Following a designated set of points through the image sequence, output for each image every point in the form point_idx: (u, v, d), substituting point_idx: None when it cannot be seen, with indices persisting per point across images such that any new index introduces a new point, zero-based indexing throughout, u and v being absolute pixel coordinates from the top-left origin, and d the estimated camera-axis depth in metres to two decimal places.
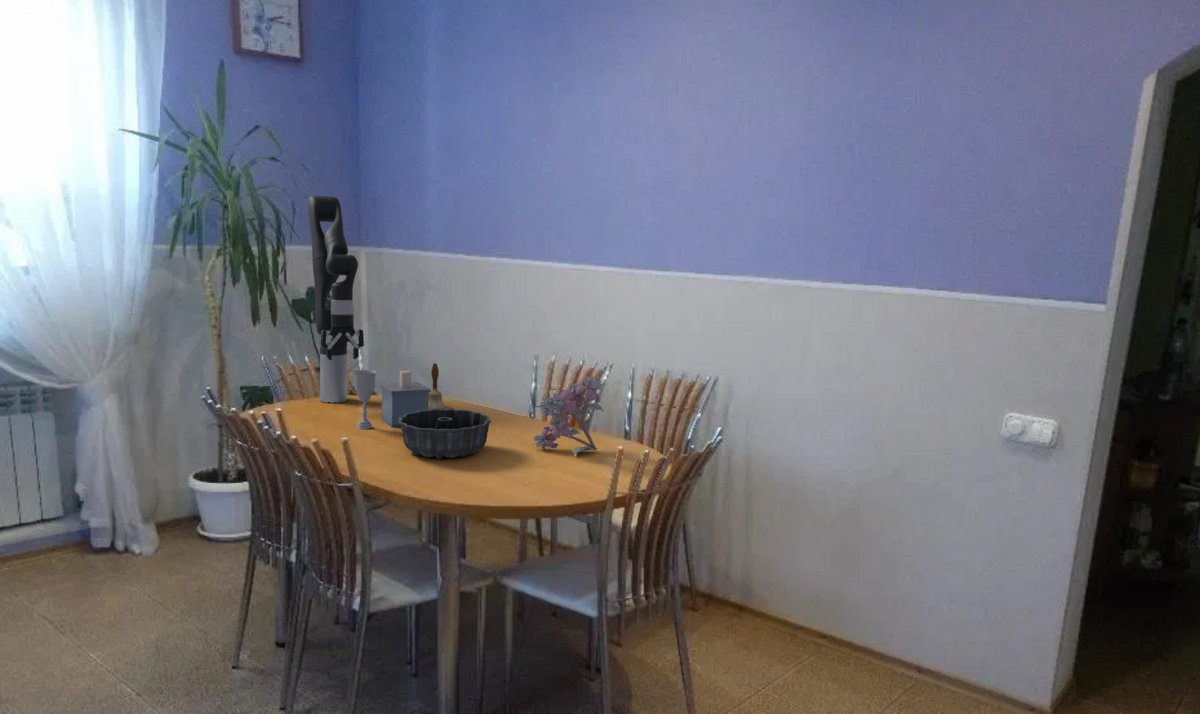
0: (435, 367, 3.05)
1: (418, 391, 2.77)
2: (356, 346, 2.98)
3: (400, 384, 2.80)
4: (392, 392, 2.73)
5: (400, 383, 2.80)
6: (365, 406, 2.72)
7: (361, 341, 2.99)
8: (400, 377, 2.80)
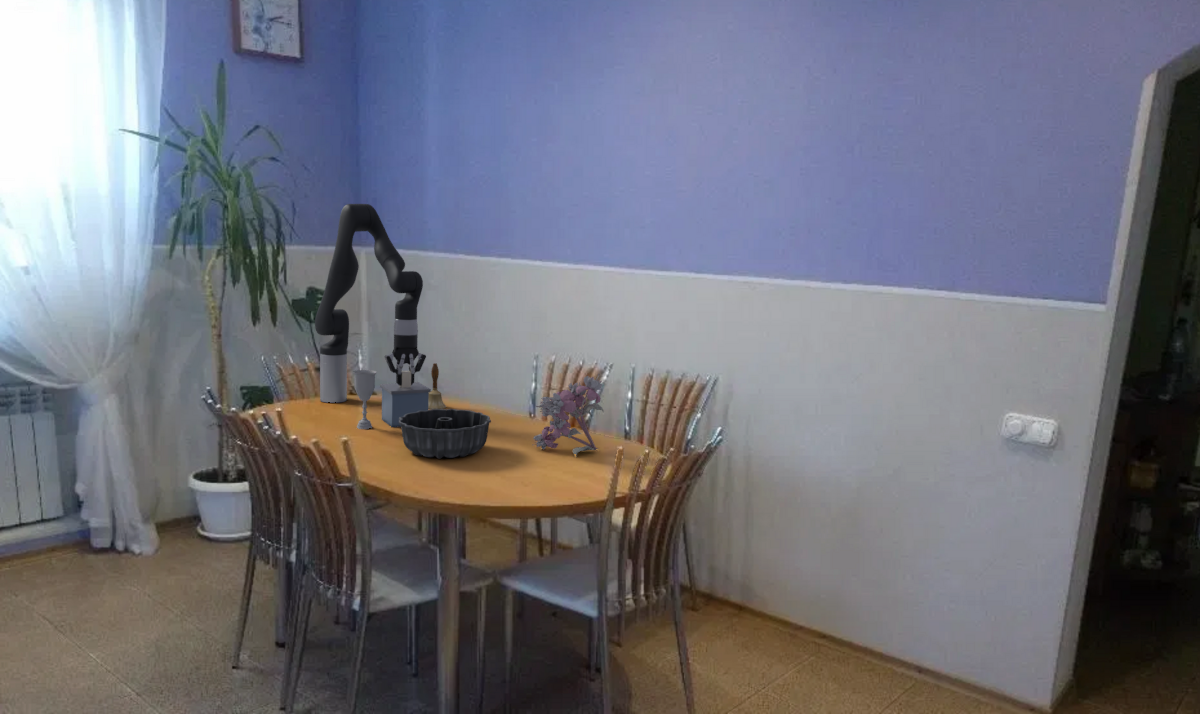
0: (435, 367, 3.05)
1: (418, 391, 2.77)
2: (412, 371, 2.80)
3: None
4: (392, 392, 2.73)
5: None
6: (365, 406, 2.72)
7: (419, 366, 2.81)
8: None
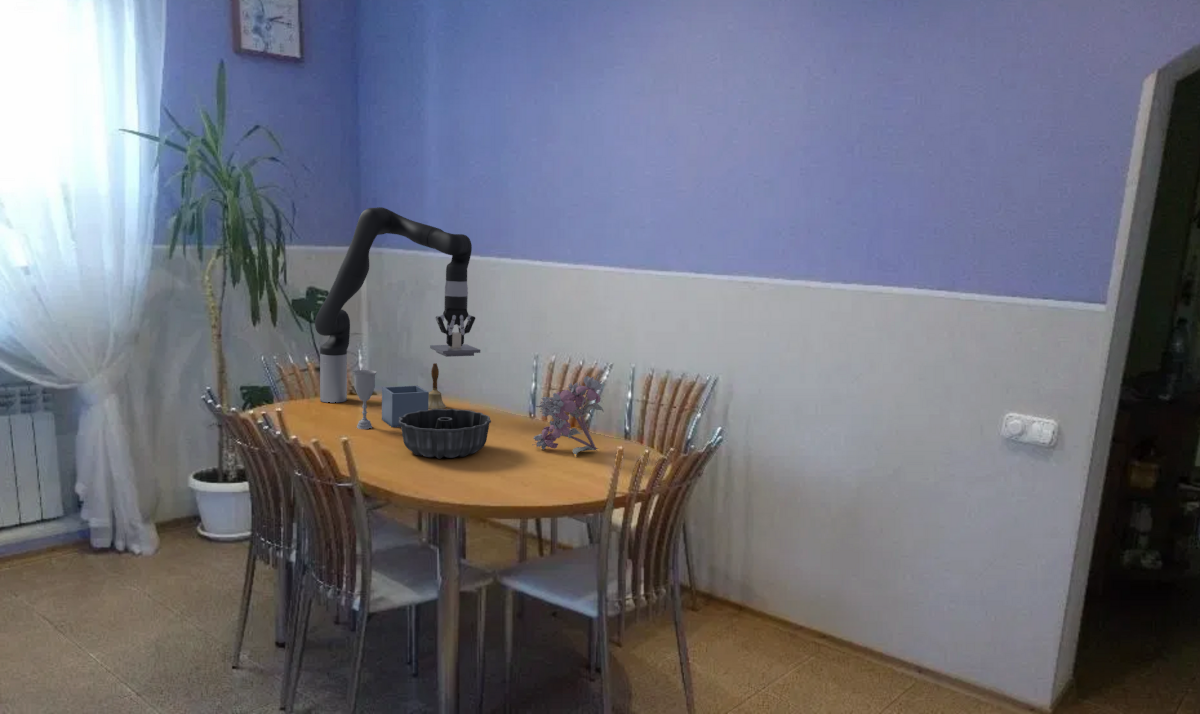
0: (435, 367, 3.05)
1: (468, 351, 2.83)
2: (462, 332, 2.87)
3: None
4: (444, 352, 2.79)
5: None
6: (365, 406, 2.72)
7: (469, 327, 2.88)
8: None
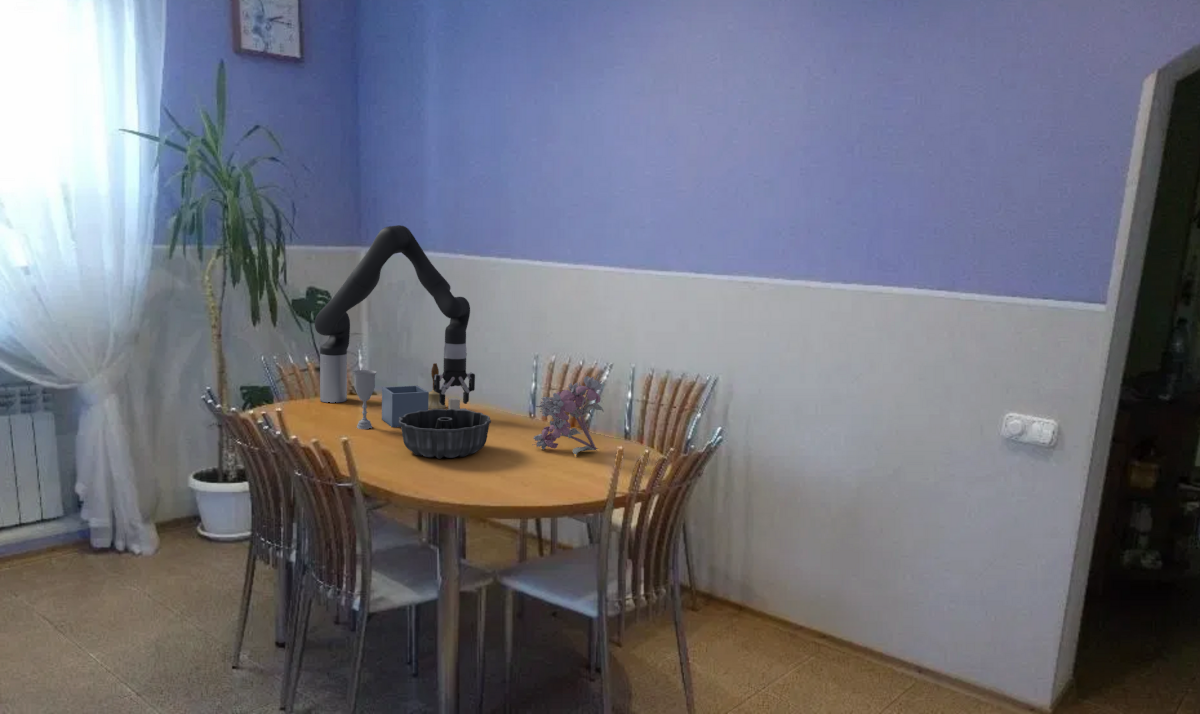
0: (435, 367, 3.05)
1: None
2: (467, 390, 2.91)
3: None
4: None
5: None
6: (365, 406, 2.72)
7: (472, 385, 2.92)
8: (449, 404, 2.90)
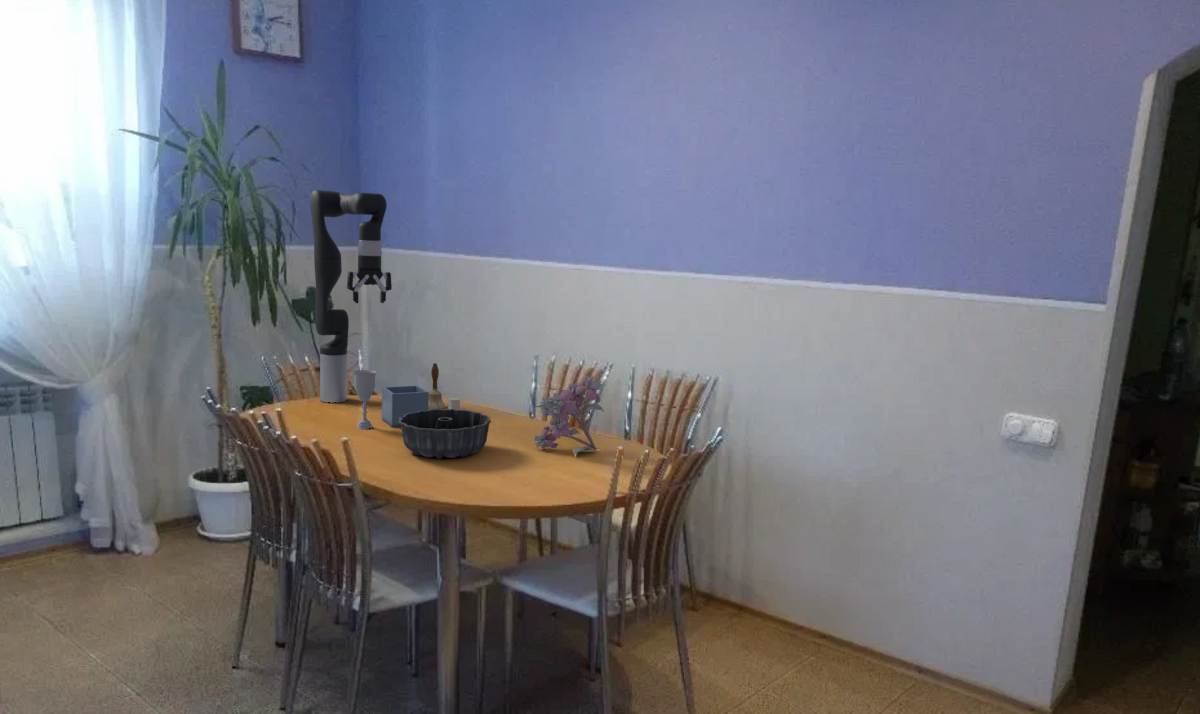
0: (435, 367, 3.05)
1: None
2: (383, 289, 2.87)
3: None
4: None
5: None
6: (365, 406, 2.72)
7: (389, 284, 2.87)
8: (449, 404, 2.90)
